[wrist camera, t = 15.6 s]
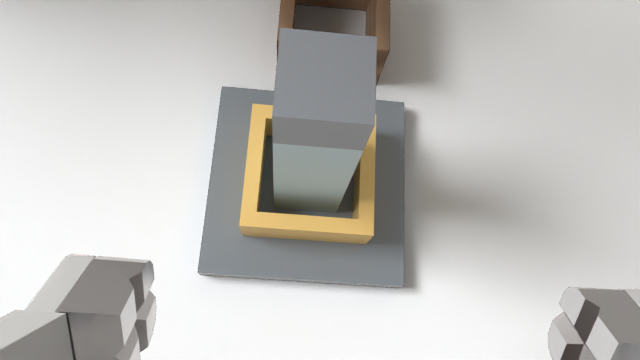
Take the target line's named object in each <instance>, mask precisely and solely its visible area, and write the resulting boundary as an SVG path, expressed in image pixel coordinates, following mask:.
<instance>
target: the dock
mask: <svg viewBox="0 0 640 360" xmlns="http://www.w3.org/2000/svg"><path fill="white" fill-rule="evenodd" d="M273 101H274V91H268V90H257V89H245V88H234V87H223V86H222V90H221V98H220V106H219V113H218V121H217V128H216V136H215V144H214V151H213V159H212V166H211V174H210V182H209V189H208V197H207V204H206V212H205V220H204V227H203V235H202V242H201V250H200V258H199V265H198V273H199V274H200V275H212V276H227V277H242V278H257V279H272V280H287V281H302V282H317V283H333V284H348V285H363V286H378V287H393V288H401V287H403V286H404V103H403V102H392V101H381V100H376V102H375V126H374V128H373V131H372V133H371V135H370V137H369V140H368V142H367V144H366V146H365V149H364V151H363V153H362V155H361V158H360V160H359V162H358V164H357V167H356V169H355V171H354V173H353V176H352V178H351V180H350V182H349V185H348V187H347V189H346V191H345V194H344V196H343V198H342V200H341V203H340V205H339V207H338V209H337V212H336V213H334V212H320V211H307V210H293V209H280V208H274V183H273V136H272V112H273Z"/></svg>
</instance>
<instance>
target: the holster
mask: <svg viewBox="0 0 640 360" xmlns="http://www.w3.org/2000/svg"><path fill="white" fill-rule="evenodd" d="M296 4H303V5H313V6H324V7H334V8H344V9H354V10H364V11H366V36H374V37H377V57H376V84H377V82H378V79H379V77H380V74H381V71H382V69H383V66H384V63H385V61H386V58H387V56H388V53H389V45H390V0H281V4H280V15H279V25H278V35H277V58H278V48H279V37H280V28H290V29H294V19H295V7H296Z"/></svg>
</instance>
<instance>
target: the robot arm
mask: <svg viewBox="0 0 640 360" xmlns="http://www.w3.org/2000/svg"><path fill="white" fill-rule="evenodd" d="M153 281H154V270H153V264H152V262H151V261H150V260H140V259H128V258H116V257H104V256H97V257H96V256H89V255H74V254H71V255H68V256H66V257H64V258H63V260H62V261H61V262H60V264H59V265H58V266H57V268H56V269H55V270H54V272H53V273H52V274H51V276H50V277H49V278H48V280H47V281H46V282H45V283H44V285H43V286H42V287H41V289H40V290H39V291H38V293H37V294H36V295H35V297H34V298H33V299H32V301H31V302H30V303H29V305H28V306H27V307H26V309H25V310H24V311H22V310H15V311H13V312H11V313H9V314H7V315H5V316H3V317H1V318H0V360H141V359H140V352H141V351H143V350H144V349H145V348H147V347H148V346H149V343H150V340H151V337H152V335H153V330H154V325H155V320H156V297H155V296H154V295H153V294H152V293H151V291H150V288H151V285H152V283H153ZM559 304H560V306H561V308H562V310H563V313H561V314H560V315H559V316H557V317H556V318H555V319H554V320H552V323H551V326H550V329H549V332H548V348H549V351H550V355H551V358H552V360H640V290H637V289H618V290H614V289H597V288H579V287H568V288H567V289H566V290H565V291H564V292H563V294H562V297H561V299H560V302H559Z"/></svg>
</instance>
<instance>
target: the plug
mask: <svg viewBox="0 0 640 360" xmlns="http://www.w3.org/2000/svg"><path fill="white" fill-rule="evenodd" d="M376 57H377V37H374V36H363V35H353V34H342V33H332V32H321V31H311V30H300V29H290V28H280V37H279V48H278V58H277V69H276V80H275V90H274V101H273V112H272V136H273V183H274V208H280V209H293V210H307V211H320V212H334V213H336V212H337V209H338V207H339V205H340V203H341V200H342V198H343V196H344V194H345V191H346V189H347V187H348V185H349V182H350V180H351V178H352V176H353V173H354V171H355V169H356V167H357V164H358V162H359V160H360V158H361V155H362V153H363V151H364V149H365V146H366V144H367V142H368V140H369V137H370V135H371V133H372V131H373V128H374V126H375V102H376Z"/></svg>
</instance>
